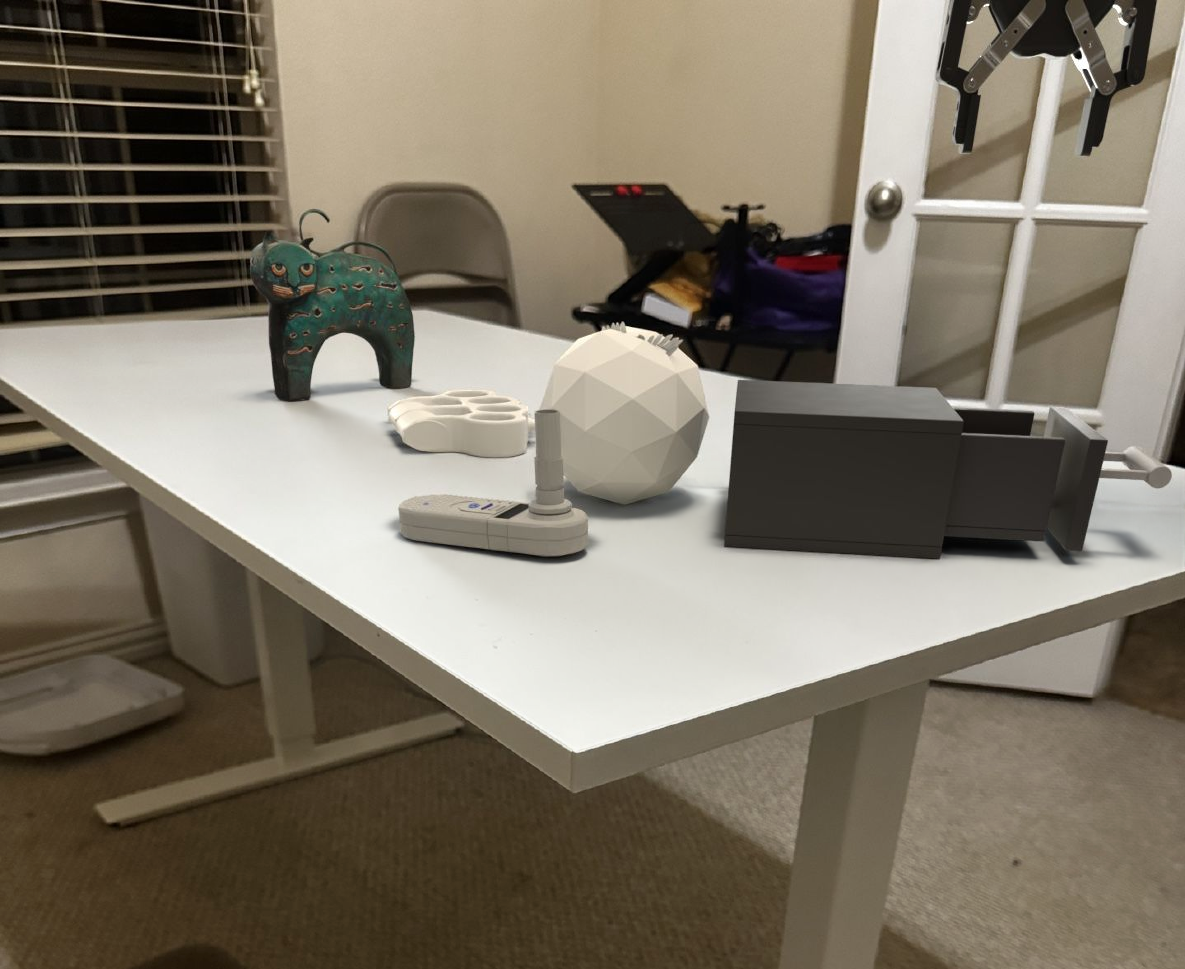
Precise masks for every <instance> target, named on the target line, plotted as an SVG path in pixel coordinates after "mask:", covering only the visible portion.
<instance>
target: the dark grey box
mask: <svg viewBox="0 0 1185 969" xmlns="http://www.w3.org/2000/svg"><path fill="white" fill-rule="evenodd" d="M734 403H735V404H734V412H733V415H734V416H733V427H732V440H731V450H730V451H731V453H730V465H729V479H728V480H729V481H728V491H727V505H726V517H725V528H724V529H725V531H724V544H723V546H724V547H728V548H743V549H744V548H745V549H761V550H780V551H797V552H799V551H800V552H814V553H815V552H816V553H829V554H830V553H831V554H832V553H833V554H850V555H851V554H852V555H868V556H883V557H884V556H886V557H902V558H903V557H904V558H918V559H919V558H920V559H938V560H939V559H941V555H942V550H943V544H944V538H945V536H944V533H945V527H946V522H947V516H948V510H949V504H950V499H951V493H952V487H953V481H954V476H955V470H956V464H957V458H958V452H959V447H960V441H961V434H962V429H963V423H964V421H963V420H962V419H961V417H960V416H959V415H958V414H957V412H956V411H955V410H954V409H953V408H954V407H953V406H952V405H951V404H950V403H949V401H948V400H947V399H946V398H945V397H944V396H943V394H942V393H941V392H940V391H939V389H938V388H937V387H923V386H899V385H877V384H876V385H874V384H853V383H852V384H851V383H828V382H827V383H826V382H805V381H803V382H802V381H781V380H780V381H779V380H778V381H777V380H754V379H753V380H752V379H737V383H736V392H735V402H734ZM952 407H953V408H952Z"/></svg>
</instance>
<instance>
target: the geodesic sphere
mask: <svg viewBox="0 0 1185 969" xmlns="http://www.w3.org/2000/svg"><path fill="white" fill-rule="evenodd" d="M673 335H674V334H668V335H666V336H664V335H663V334H662V333H661V334H660V333H659V332H657V331H653V330H648V329H644V328H638V327H631V326H627V325H626V324H625V322H624V321H621V323H619V322H616V323H614V322H612V323H611V325H608V324H607V325H606V327H605V326H602V327H601V330H600V331H597V332H594V333H591V334H588V335H585V336H582V337H579V338H577V339H576V340H575V341H574V342H573V343H572V344H571V346H570V347H569V348H568V349H567V350H566V351H565V352H563V354H562V356H561V357H559V358H558V360H557V361H555V363H554V364H553V368H552V371H551V374H550V376H549V379H548V382H547V385H546V388H545V391H544V394H543V397H542V400H541V404H540V406H539V409H538V410H543V409H554V410H559V411H560V431H561V456H562V457H563V477H565V479H566V480H567V481H568V482H569V483H570V484H571V485H572V486H573V487H574V488H575V489H576V490H577V491H578V492H579V493H582V494H585V495H588V496H592V497H595V498H599V499H603V500H606V501H609V502H613V503H617V504H618V505H619V504H620V505H624V506H625V505H628V504H632V503H635V502H638V501H642V500H645V499H646V500H647V499H649V498H652V497H656V496H659V495H663V494H667V493H669V492H670V491H671V490H672V489H673V487H674V486H675V485H676V484H677V483H678V481H679V480H680V479H681V477H682V476H684V474H685V473H686V471H687V470H688V469H689V468H690V466H691V465H692V464H693V463H694V462H695V460H696V459H697V458H698V455H699V452H700V449H701V447H702V442H703V440H704V436H705V433H706V430H707V426H708V423H709V420H710V413H709V409H708V404H707V400H706V396H705V391H704V387H703V382H702V378H701V374H700V370H699V369H700V368H699V365H698V364H697V363H696V362H695V361H693V360H692V359H691V358H690V357H689V356H688V355H687V354H685V353H684V352H683V351H682V350H681V349H680V348H679V346H680V345H681V344H682V343H683V341H684V339H680V337H674V338H673Z"/></svg>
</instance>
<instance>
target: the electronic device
mask: <svg viewBox="0 0 1185 969" xmlns="http://www.w3.org/2000/svg"><path fill="white" fill-rule="evenodd" d="M534 420H535V430H534V433H535V434H534V436H535V438H534V439H535V457H533V458H534V459H533V460H534V461H533V462H534V483H535V485H536V486H535V498H534V499H533V500H531V501H530V502H524V501H514V500H505V499H494V498H483V497H473V496H465V495H464V496H463V495H454V494H445V493H444V494H442V493H438V494H437V493H436V494H426V495H417V496H413V497H409V498H407V499H405V500H403V501H401V502H400V503H399V504H398V507H397V508H398V520H399V528H400V529H399V530H400V534H401V536H403V537H404V538H405V539H408V540H413V541H416V542H423V543H431V544H432V543H433V544H441V545H449V546H457V547H467V548H474V549H483V550H491V551H499V552H508V553H515V554H516V553H517V554H523V555H532V556H533V555H534V556H538V557H543V558H549V557H551V558H552V557H561V556H565V555H571V554H575V553H578V552H581V551H582V550H584V549H586V547H587V545H588V543H589V516H588V514H587V513H586V512H585V511H584V510H582V509H579V508H576V507H573V506H572V502H571V501H570V500H568V498H567V499H566V498H565V490H564V486H563V484H564V483H565V481H564V480H565V479H564V477H565V476H564V475H563V457H562V456H561V431H560V411H559V410H554V409H543V410H539V409H537V410H534Z"/></svg>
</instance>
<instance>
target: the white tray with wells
mask: <svg viewBox="0 0 1185 969" xmlns="http://www.w3.org/2000/svg"><path fill="white" fill-rule="evenodd" d="M529 416H530V413H529V407H528V405H524V404H522V402H521V400H519V399H516V398H514V397H512V396H506V395H505V396H503V395H499V394H497V393H496V391H493V390H486V389H472V388H469V389H465V388H464V389H454V390H447V391H444V392H442V393H441V394H437V395H428V396H427V395H425V396H423V395H422V396H412V397H406V398H403V399H399V400H397V401H396V402H394V403H393V404H392V405H390V406H389V407H387V417H388V418H387V420H388V422H390V423H391V424H392V425H393V427H394V430H395V432H396V433H398V434H399V435H400V437H401V439H402V442H403V443H404V444H406V445H407V446H409V447H411V448H412V449H415V450H416V451H421V452H427V453H449V452H451V453H463V454H467V455H470V456H473V457H480V458H511V457H517V456H520V455H523V454H525V453H526V452H527V450H528V443H529V433H532V432H533V431H534V432H535V419H534V418H532V417H529Z"/></svg>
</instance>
